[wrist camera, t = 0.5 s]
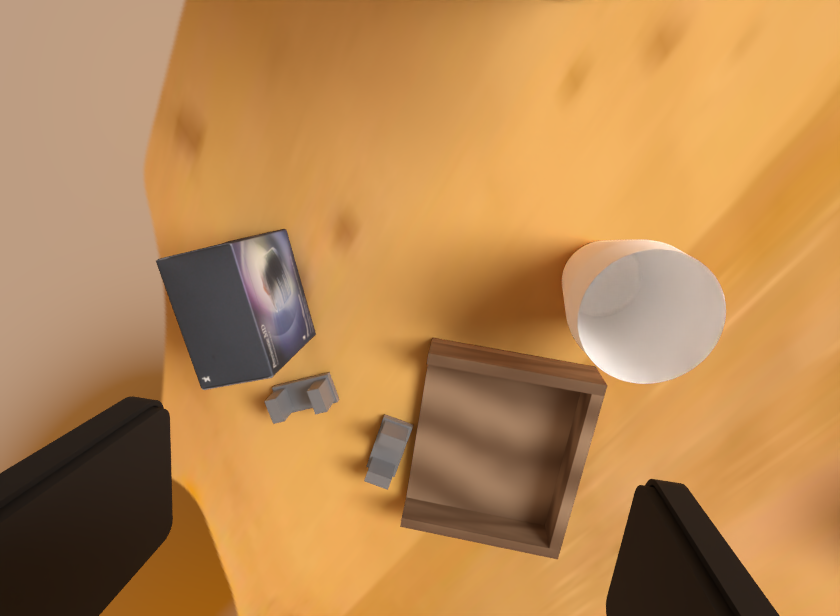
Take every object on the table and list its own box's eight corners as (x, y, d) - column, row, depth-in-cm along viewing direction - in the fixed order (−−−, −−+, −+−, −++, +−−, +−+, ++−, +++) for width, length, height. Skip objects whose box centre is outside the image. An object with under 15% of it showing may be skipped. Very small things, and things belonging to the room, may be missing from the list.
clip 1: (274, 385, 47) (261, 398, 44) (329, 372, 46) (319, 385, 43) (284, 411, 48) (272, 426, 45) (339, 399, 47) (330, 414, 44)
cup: (563, 341, 42) (596, 402, 31) (534, 246, 40) (557, 274, 29) (667, 310, 40) (742, 363, 29) (641, 210, 39) (711, 224, 27)
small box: (321, 335, 45) (276, 380, 35) (259, 346, 46) (198, 394, 36) (289, 226, 42) (231, 241, 32) (225, 241, 44) (149, 260, 34)
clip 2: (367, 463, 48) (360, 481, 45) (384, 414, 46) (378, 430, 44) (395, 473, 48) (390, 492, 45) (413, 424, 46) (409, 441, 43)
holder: (432, 337, 44) (428, 353, 40) (595, 366, 43) (607, 385, 39) (406, 499, 49) (400, 526, 45) (551, 528, 48) (557, 559, 44)
